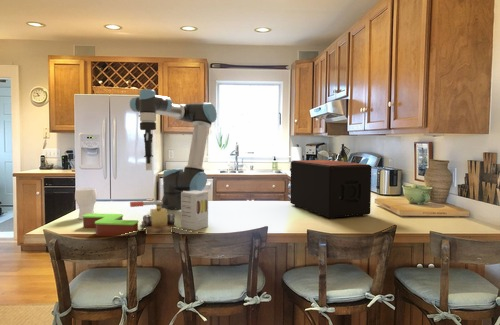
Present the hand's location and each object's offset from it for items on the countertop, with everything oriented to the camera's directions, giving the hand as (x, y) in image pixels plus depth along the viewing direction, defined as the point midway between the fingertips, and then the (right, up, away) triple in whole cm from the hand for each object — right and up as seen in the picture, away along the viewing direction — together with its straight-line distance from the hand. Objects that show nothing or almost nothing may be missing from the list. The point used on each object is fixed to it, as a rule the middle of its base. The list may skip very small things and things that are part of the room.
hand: (148, 170), depth 179 cm
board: (+7, -27, -9) cm, 29 cm away
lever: (+2, -16, -12) cm, 20 cm away
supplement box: (+24, -27, -7) cm, 37 cm away
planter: (-14, -28, -14) cm, 34 cm away
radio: (+95, -25, +33) cm, 104 cm away
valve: (+7, -26, -9) cm, 28 cm away
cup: (-36, -25, +12) cm, 46 cm away
